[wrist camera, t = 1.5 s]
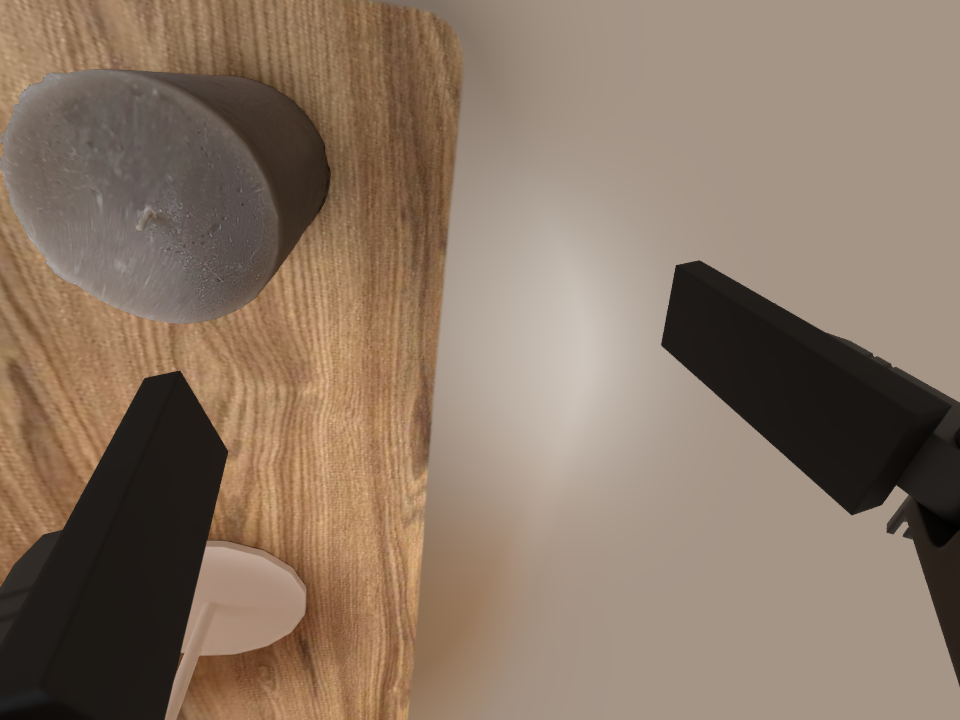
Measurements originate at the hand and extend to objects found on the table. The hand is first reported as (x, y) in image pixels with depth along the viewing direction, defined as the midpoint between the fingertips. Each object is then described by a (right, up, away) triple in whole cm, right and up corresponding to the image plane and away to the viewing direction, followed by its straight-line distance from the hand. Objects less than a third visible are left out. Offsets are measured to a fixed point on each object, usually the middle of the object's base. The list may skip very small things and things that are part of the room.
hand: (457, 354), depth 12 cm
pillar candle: (-14, +13, +17) cm, 26 cm away
